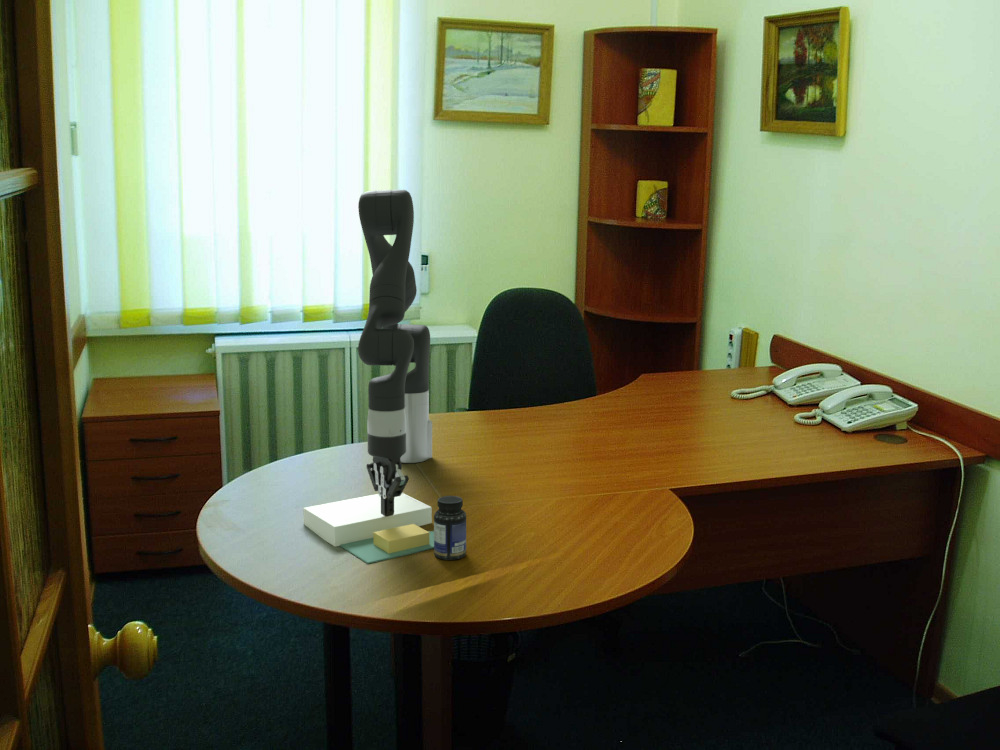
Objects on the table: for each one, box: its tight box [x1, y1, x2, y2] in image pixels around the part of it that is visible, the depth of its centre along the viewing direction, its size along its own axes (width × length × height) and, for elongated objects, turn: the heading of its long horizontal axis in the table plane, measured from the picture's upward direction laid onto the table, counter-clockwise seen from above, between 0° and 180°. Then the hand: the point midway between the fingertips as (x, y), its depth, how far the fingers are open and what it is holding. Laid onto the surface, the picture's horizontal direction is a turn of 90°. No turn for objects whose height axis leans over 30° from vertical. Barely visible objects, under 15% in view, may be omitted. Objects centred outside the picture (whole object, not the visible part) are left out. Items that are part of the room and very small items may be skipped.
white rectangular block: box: [303, 492, 433, 548], centre depth 196 cm, size 22×14×4 cm, turn 126°
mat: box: [339, 530, 434, 565], centre depth 186 cm, size 20×11×1 cm, turn 126°
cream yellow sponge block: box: [373, 524, 430, 553], centre depth 185 cm, size 9×6×2 cm, turn 126°
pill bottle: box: [433, 495, 467, 561], centre depth 180 cm, size 6×6×11 cm
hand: (387, 514), depth 190 cm, fingers closed
